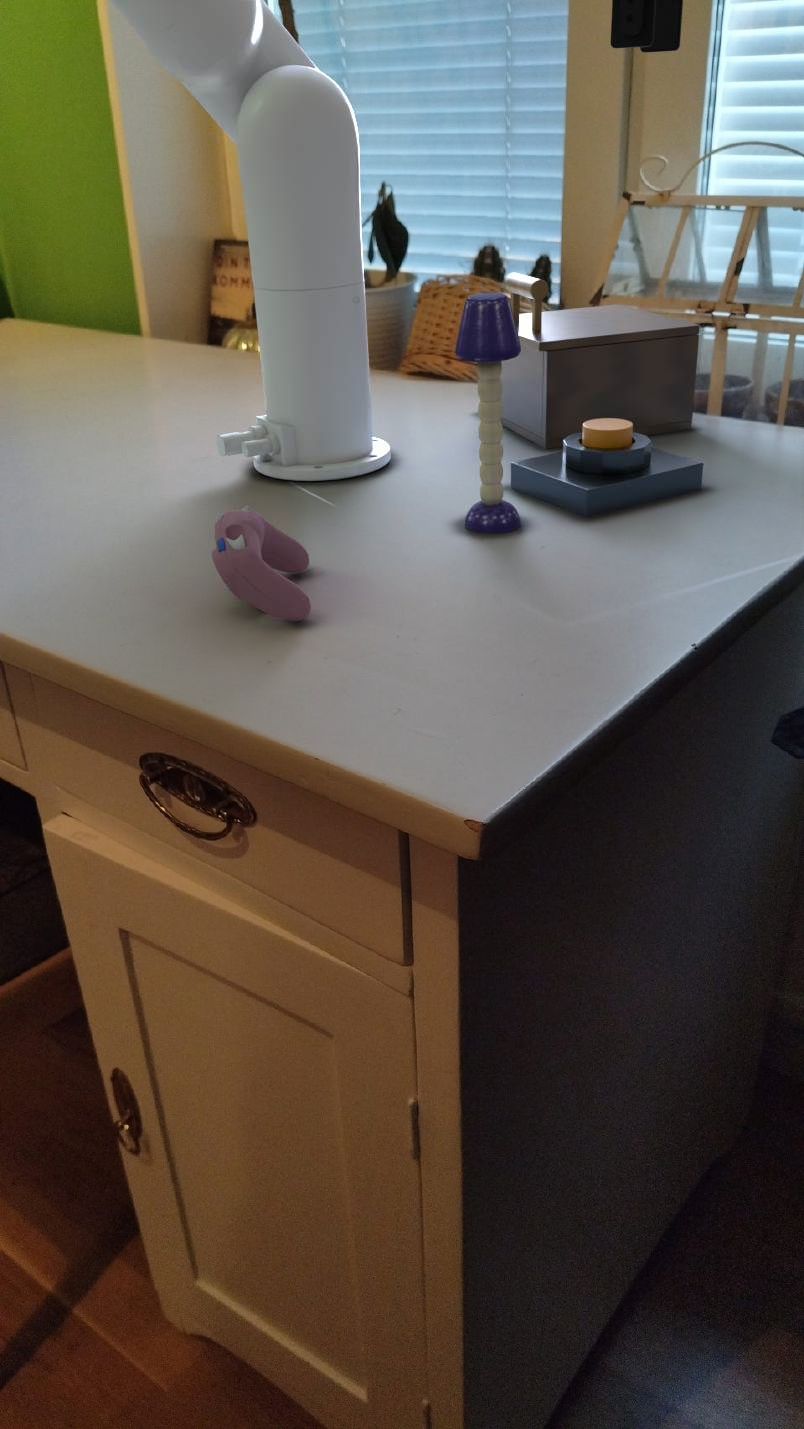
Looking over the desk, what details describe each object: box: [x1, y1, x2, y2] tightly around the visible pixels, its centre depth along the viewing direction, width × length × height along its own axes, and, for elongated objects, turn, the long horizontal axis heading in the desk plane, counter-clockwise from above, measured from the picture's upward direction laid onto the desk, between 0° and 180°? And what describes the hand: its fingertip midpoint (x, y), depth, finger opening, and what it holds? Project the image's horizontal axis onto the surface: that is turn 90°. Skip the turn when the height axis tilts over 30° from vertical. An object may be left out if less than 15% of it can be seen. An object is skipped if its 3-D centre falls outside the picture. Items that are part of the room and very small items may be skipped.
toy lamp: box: [454, 292, 521, 535], centre depth 80 cm, size 5×5×17 cm
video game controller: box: [211, 505, 312, 622], centre depth 72 cm, size 10×5×7 cm, turn 5°
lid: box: [504, 272, 701, 351], centre depth 106 cm, size 16×16×5 cm
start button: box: [582, 418, 633, 448], centre depth 89 cm, size 4×4×2 cm
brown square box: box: [499, 334, 700, 449], centre depth 109 cm, size 16×16×9 cm
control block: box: [510, 432, 705, 518], centre depth 90 cm, size 12×10×4 cm
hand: (646, 49), depth 88 cm, fingers open, 9 cm apart
